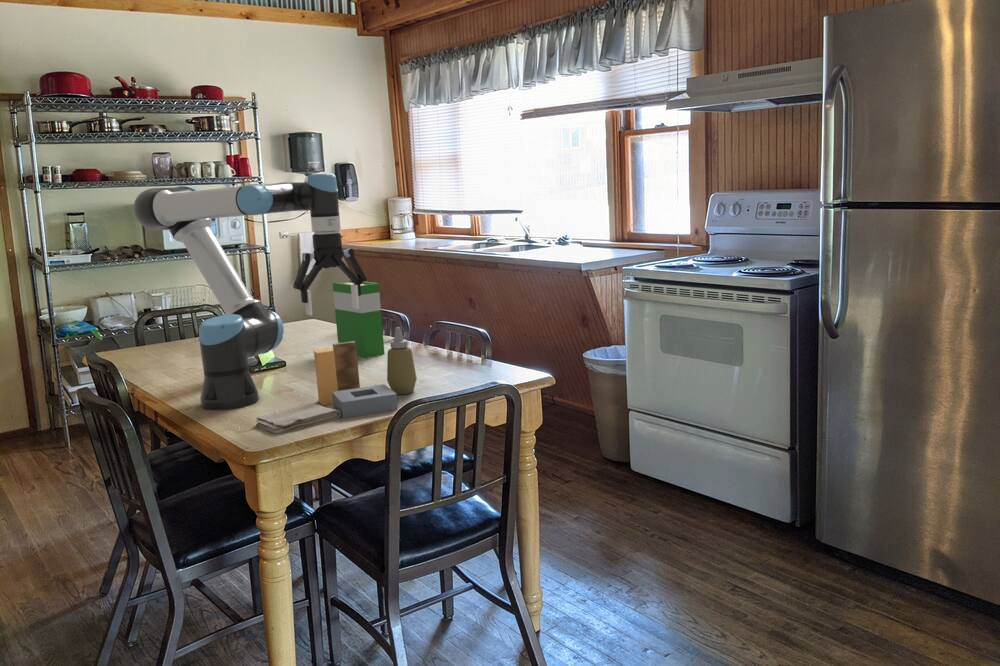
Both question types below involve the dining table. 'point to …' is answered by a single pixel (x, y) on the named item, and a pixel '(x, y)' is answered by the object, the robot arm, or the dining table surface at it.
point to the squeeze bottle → (400, 365)
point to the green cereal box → (359, 318)
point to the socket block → (364, 400)
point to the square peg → (325, 374)
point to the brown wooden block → (346, 365)
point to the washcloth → (296, 418)
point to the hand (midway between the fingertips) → (333, 311)
